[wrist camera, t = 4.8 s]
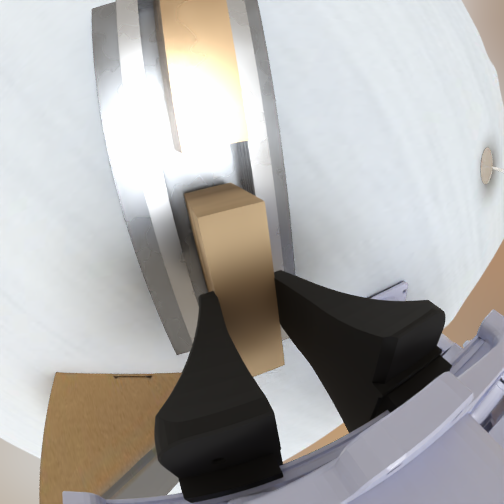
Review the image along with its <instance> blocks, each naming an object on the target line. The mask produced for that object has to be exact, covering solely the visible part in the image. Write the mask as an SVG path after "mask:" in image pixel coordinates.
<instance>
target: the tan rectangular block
mask: <svg viewBox="0 0 504 504" xmlns="http://www.w3.org/2000/svg"><path fill="white" fill-rule="evenodd" d="M184 198H185V202H186V207H187V211H188V215H189V220H190V224H191V228H192V232H193V236H194V240H195V244H196V248H197V252H198V256H199V260H200V264H201V268H202V271H203V275H204V279H205V283H206V286H207V290H208V292H211V291H214V293H215V294H216V296H217V297H218V299H219V303H220V307H221V310H222V314H223V317H224V321H225V325H226V328H227V330H228V333H229V335H230V337H231V339H232V341H233V343H234V345H235V347H236V349H237V351H238V353H239V354H240V356H241V358H242V360H243V362H244V363H245V365H246V367H247V369H248V370H249V372H250V374H251V375H252V377H254V376H257V375H259V374H262V373H265V372H267V371H270V370H273V369H275V368H278V367H280V366H283V365H285V364H284V354H283V345H282V336H281V327H280V322H279V314H278V305H277V297H276V289H275V281H274V278H275V276H274V268H273V260H272V252H271V245H270V237H269V229H268V222H267V214H266V207H265V201H263V200H262V199H260V198H258V197H256V196H255V195H253V194H251V193H249V192H247V191H246V190H244V189H242V188H240V187H238V186H237V185H235V184H233V183H231V182H230V183H226V184H221V185H217V186H213V187H209V188H205V189H201V190H197V191H193V192H189V193H185V194H184Z"/></svg>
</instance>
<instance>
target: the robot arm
mask: <svg viewBox="0 0 504 504" xmlns="http://www.w3.org/2000/svg"><path fill="white" fill-rule="evenodd" d="M274 276H275V278H274V281H275V289H276V297H277V305H278V314H279V322H280V325H281V327H282V328H283V330H284V331H285V332H286V334H287V335H288V336H289V338H290V339H291V340H292V341H293V343H294V344H295V345H296V347H297V348H298V349H299V350H300V352H301V353H302V354H303V355H304V357H305V358H306V359H307V361H308V362H309V363H310V365H311V366H312V368H313V369H314V371H315V372H316V374H317V376H318V377H319V379H320V381H321V382H322V384H323V386H324V387H325V389H326V391H327V392H328V394H329V396H330V398H331V399H332V401H333V403H334V405H335V407H336V408H337V410H338V412H339V414H340V416H341V418H342V420H343V422H344V424H345V426H346V428H347V430H348V431H349V434H347V435H345V436H343V437H341V438H340V439H338V440H336V441H334V442H332V443H330V444H328V445H326V446H324V447H322V448H320V449H318V450H315V451H314V452H311V453H309V454H307V455H305V456H302V457H300V458H298V459H295V460H293V461H291V462H288V463H286V464H283V462H282V457H281V452H280V450H281V447H280V441H279V436H278V431H277V425H276V420H275V415H274V412H273V410H272V408H271V406H270V404H269V402H268V400H267V398H266V396H265V395H264V393H263V392H262V390H261V389H260V388H259V386H258V384H257V383H256V381H255V380H254V378H253V377H252V375H251V374H250V372H249V370H248V369H247V367H246V365H245V363H244V362H243V360H242V358H241V356H240V354H239V353H238V351H237V349H236V347H235V345H234V343H233V341H232V339H231V337H230V335H229V333H228V330H227V328H226V325H225V321H224V317H223V314H222V310H221V307H220V303H219V299H218V297H217V296H216V294H215V293H214V291H211V292H208V293H205V294H201V295H200V296H199V297H198V300H199V313H198V321H197V327H196V332H195V337H194V341H193V345H192V348H191V351H190V354H189V357H188V360H187V362H186V365H185V367H184V369H183V372H182V374H181V376H180V378H179V380H178V382H177V383H176V385H175V387H174V389H173V391H172V393H171V394H170V396H169V397H168V399H167V400H166V402H165V403H164V405H163V406H162V408H161V409H160V410H159V412H158V413H157V414H156V416H155V427H154V439H155V447H156V452H157V458H158V461H159V463H160V464H161V465H162V466H163V467H164V468H166V469H167V470H168V471H170V472H171V473H172V474H174V475H175V476H176V477H178V478H179V482H180V486H181V490H182V493H178V494H172V495H165V496H157V497H147V498H135V499H113V500H105V499H104V498H102V497H101V496H99V495H96V494H93V493H89V492H72V491H63V492H62V497H63V504H504V316H503V315H501V314H499V313H498V312H497V311H495V310H492V311H491V312H490V313H489V314H488V315H487V317H486V318H485V319H484V320H483V321H482V323H481V325H480V327H479V329H478V332H477V335H476V336H475V337H474V338H473V339H472V340H470V341H465V343H464V344H463V347H464V348H461V347H460V346H459V345H457V344H456V343H454V342H452V341H451V340H450V339H449V338H447V337H446V336H445V335H444V334H442V331H443V328H444V324H445V313H444V311H443V310H441V309H440V308H439V307H437V306H436V305H434V304H433V303H432V302H430V301H429V300H421V301H405V299H406V294H407V288H408V283H407V282H405V281H404V282H402V283H400V284H398V285H396V286H394V287H392V288H390V289H388V290H386V291H384V292H382V293H380V294H378V295H376V296H374V297H372V298H364V297H358V296H354V295H350V294H345V293H341V292H338V291H335V290H332V289H328V288H325V287H323V286H320V285H317V284H314V283H312V282H309V281H307V280H304V279H302V278H300V277H297V276H295V275H292V274H290V273H288V272H285V271H282V270H279V271H276V272H274Z"/></svg>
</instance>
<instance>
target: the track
mask: <svg viewBox="0 0 504 504" xmlns="http://www.w3.org/2000/svg"><path fill="white" fill-rule="evenodd" d="M92 39H93V55H94V66H95V76H96V85H97V93H98V100H99V107H100V113H101V119H102V125H103V131H104V136H105V141H106V146H107V151H108V155H109V160H110V164H111V169H112V173H113V177H114V181H115V185H116V189H117V193H118V197H119V200H120V204H121V207H122V211H123V214H124V218H125V221H126V225H127V228H128V231H129V234H130V237H131V240H132V244H133V247H134V250H135V253H136V256H137V258H138V261H139V264H140V267H141V270H142V273H143V275H144V278H145V281H146V283H147V286H148V289H149V291H150V294H151V296H152V299H153V301H154V304H155V306H156V309H157V311H158V314H159V316H160V319H161V321H162V323H163V326H164V328H165V330H166V332H167V335H168V337H169V339H170V341H171V344H172V346H173V348H174V350H175V352H176V354H177V355H179V354H182V353H186V352H189V351H191V348H192V345H193V341H194V337H195V332H196V327H197V321H198V313H199V300H198V297H199V296H200V295H201V294H205V293H208V290H207V286H206V283H205V279H204V275H203V271H202V268H201V264H200V260H199V256H198V252H197V248H196V244H195V240H194V236H193V232H192V228H191V224H190V220H189V215H188V211H187V207H186V202H185V198H184V194H185V193H189V192H193V191H197V190H201V189H205V188H209V187H213V186H217V185H221V184H226V183H230V182H231V183H233V184H235V185H237V186H238V187H240V188H242V189H244V190H246V191H247V192H249V193H251V194H253V195H255V196H256V197H258V198H260V199H262V200H263V201H265V207H266V214H267V222H268V229H269V237H270V245H271V252H272V260H273V268H274V272H276V271H279V270H282V271H285V272H288V273H290V274H292V275H295V266H294V254H293V243H292V232H291V222H290V212H289V202H288V193H287V184H286V176H285V167H284V159H283V151H282V144H281V136H280V129H279V122H278V115H277V108H276V101H275V95H274V89H273V82H272V76H271V70H270V64H269V59H268V53H267V47H266V42H265V36H264V31H263V26H262V21H261V16H260V11H259V6H258V1H257V0H116V2H113V3H110V4H106V5H103V6H100V7H96V8H93V9H92ZM280 327H281V325H280ZM281 336H282V340H285V339H287V338H289V336H288V335H287V334H286V332H285V331H284V330H283V328H282V327H281Z"/></svg>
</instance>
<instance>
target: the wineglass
mask: <svg viewBox="0 0 504 504" xmlns="http://www.w3.org/2000/svg"><path fill="white" fill-rule="evenodd" d="M493 169H494V170H497V171H500V172H502V173H504V169H502V168H498V167H494V166H493V158H492V153H491V150H490V149H489V148H486V149H485V150H484V152H483V155H482V160H481V178H482V181H483V183H484V184H487V183H488V182H489V181H490V178H491V175H492V170H493Z"/></svg>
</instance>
